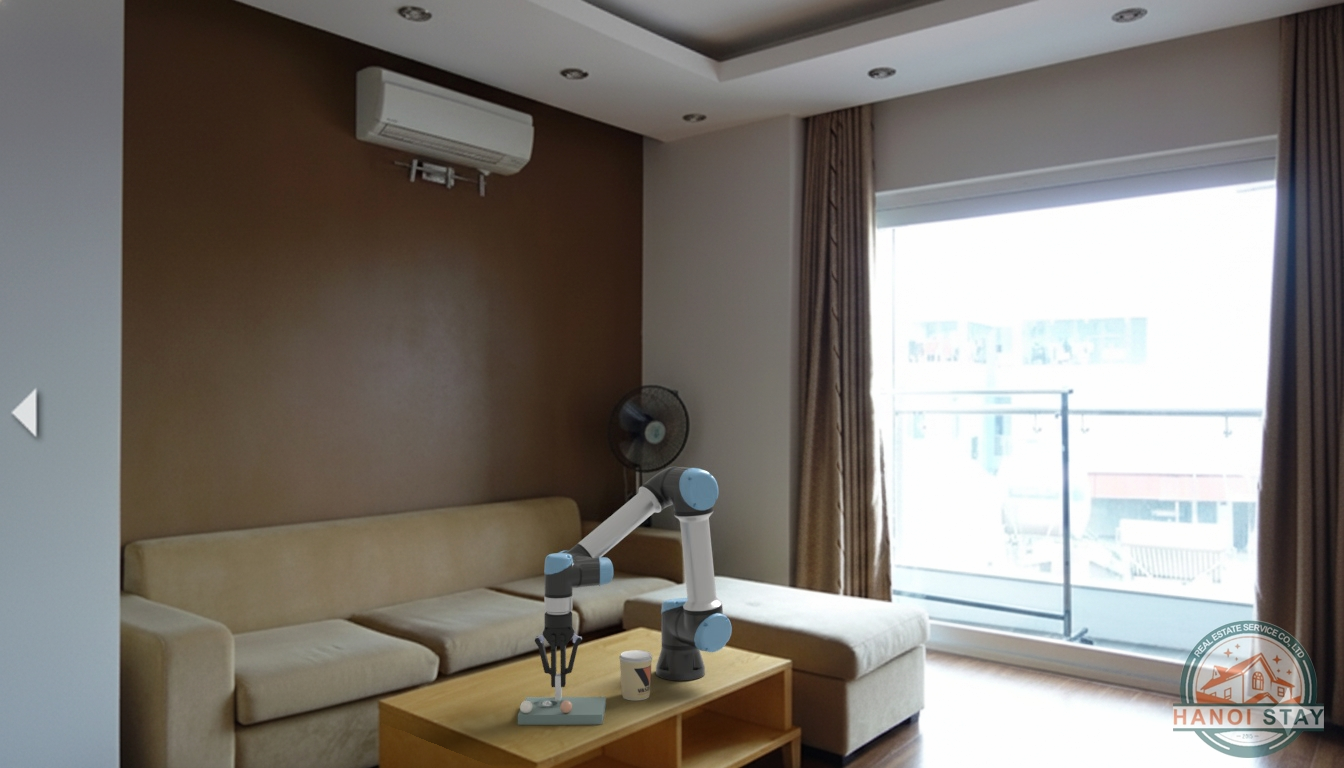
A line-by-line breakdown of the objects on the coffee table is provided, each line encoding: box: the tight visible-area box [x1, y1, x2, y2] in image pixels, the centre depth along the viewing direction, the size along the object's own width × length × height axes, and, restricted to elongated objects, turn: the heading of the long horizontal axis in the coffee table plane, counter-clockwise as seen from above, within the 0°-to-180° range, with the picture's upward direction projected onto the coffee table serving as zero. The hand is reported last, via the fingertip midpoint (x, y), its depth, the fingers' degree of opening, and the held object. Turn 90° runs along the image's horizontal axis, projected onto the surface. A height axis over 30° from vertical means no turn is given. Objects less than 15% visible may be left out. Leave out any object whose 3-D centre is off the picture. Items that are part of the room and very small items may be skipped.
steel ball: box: [542, 701, 553, 706], centre depth 258 cm, size 3×3×3 cm
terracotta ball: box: [560, 700, 572, 713], centre depth 251 cm, size 3×3×3 cm
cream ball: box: [519, 700, 532, 713], centre depth 251 cm, size 3×3×3 cm
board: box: [517, 696, 607, 726], centre depth 257 cm, size 22×15×2 cm
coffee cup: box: [618, 649, 653, 701], centre depth 273 cm, size 9×9×12 cm
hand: (558, 698), depth 259 cm, fingers closed
